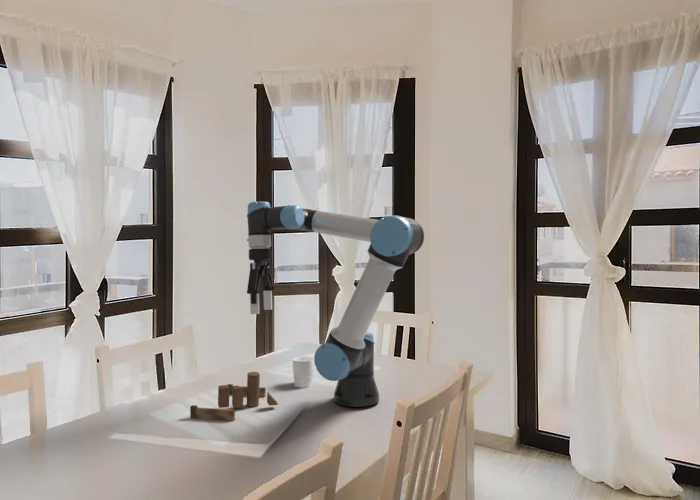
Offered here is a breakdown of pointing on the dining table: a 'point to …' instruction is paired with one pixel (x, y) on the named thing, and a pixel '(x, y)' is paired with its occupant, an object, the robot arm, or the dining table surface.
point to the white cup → (303, 371)
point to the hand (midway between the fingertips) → (261, 311)
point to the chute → (220, 413)
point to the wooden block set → (237, 393)
